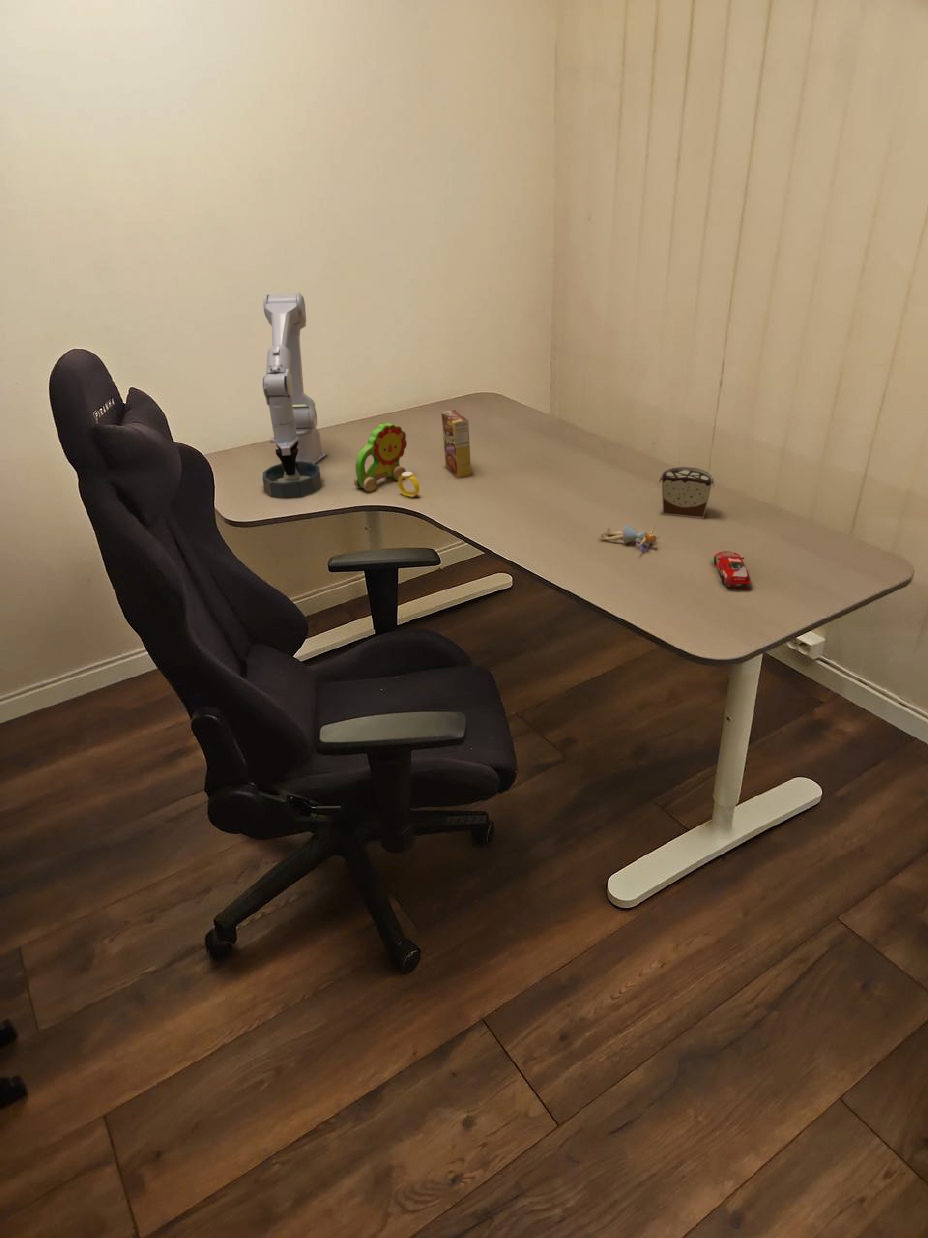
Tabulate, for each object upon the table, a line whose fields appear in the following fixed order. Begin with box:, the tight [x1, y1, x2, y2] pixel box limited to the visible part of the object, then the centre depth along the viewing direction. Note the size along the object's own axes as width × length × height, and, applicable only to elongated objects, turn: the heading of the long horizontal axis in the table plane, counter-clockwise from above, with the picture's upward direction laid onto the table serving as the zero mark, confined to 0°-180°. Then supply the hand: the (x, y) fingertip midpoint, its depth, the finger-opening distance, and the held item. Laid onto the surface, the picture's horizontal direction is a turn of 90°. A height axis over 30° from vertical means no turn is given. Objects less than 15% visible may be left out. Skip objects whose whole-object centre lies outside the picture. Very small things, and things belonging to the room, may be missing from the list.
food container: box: [659, 466, 715, 519], centre depth 206 cm, size 12×6×10 cm, turn 71°
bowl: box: [261, 461, 322, 499], centre depth 230 cm, size 15×15×4 cm
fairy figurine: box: [600, 524, 657, 553], centre depth 195 cm, size 12×5×12 cm
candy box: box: [441, 409, 472, 479], centre depth 231 cm, size 9×4×15 cm, turn 23°
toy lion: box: [353, 422, 408, 493], centre depth 227 cm, size 16×6×15 cm, turn 134°
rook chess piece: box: [283, 467, 301, 483], centre depth 228 cm, size 4×4×8 cm
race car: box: [713, 550, 751, 588], centre depth 181 cm, size 13×5×4 cm, turn 177°
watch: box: [397, 471, 420, 498], centre depth 221 cm, size 6×3×6 cm, turn 53°
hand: (291, 471), depth 229 cm, fingers closed on rook chess piece, 3 cm apart
